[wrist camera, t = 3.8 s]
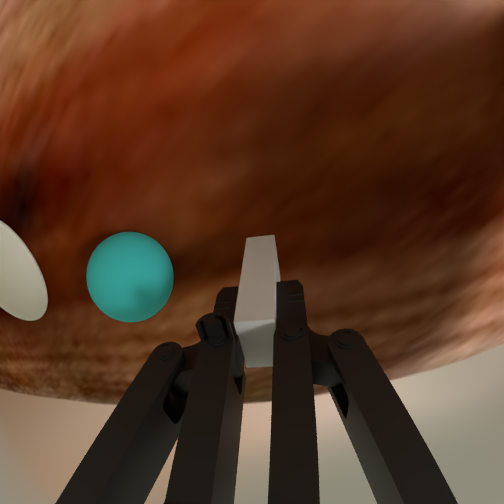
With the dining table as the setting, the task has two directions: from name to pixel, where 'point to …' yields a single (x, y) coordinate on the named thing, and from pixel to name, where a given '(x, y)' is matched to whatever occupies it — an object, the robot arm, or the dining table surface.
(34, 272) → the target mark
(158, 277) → the ball
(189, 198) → the dining table surface
